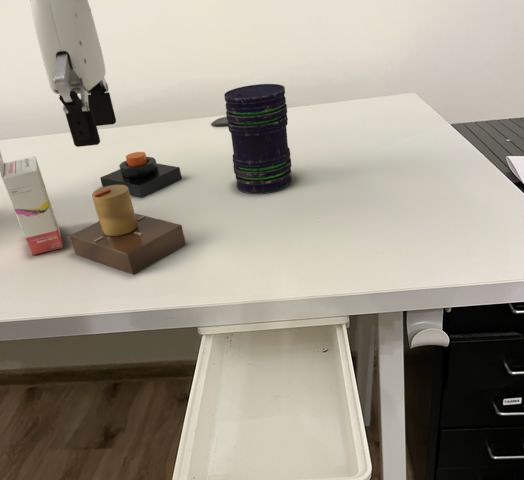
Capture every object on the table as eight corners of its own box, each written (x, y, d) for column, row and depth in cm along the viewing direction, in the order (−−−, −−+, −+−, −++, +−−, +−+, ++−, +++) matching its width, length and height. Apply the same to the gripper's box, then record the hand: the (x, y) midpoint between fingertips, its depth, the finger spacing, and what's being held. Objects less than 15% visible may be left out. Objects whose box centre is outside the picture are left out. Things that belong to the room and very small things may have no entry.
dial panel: (75, 254, 80) (68, 234, 78) (127, 228, 86) (122, 208, 84) (133, 274, 73) (127, 253, 71) (185, 244, 79) (181, 223, 77)
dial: (123, 218, 81) (112, 180, 78) (145, 225, 78) (135, 185, 75) (95, 232, 78) (83, 192, 75) (117, 238, 75) (105, 198, 72)
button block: (103, 189, 102) (97, 167, 100) (143, 171, 108) (138, 151, 106) (141, 197, 96) (136, 175, 94) (182, 178, 102) (177, 157, 100)
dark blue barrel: (271, 169, 101) (263, 81, 92) (304, 182, 94) (298, 87, 85) (225, 184, 97) (212, 94, 88) (255, 199, 90) (244, 101, 81)
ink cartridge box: (65, 248, 82) (30, 148, 74) (31, 256, 81) (-8, 156, 72) (60, 228, 89) (28, 134, 80) (29, 235, 88) (-8, 141, 79)
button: (124, 166, 100) (121, 156, 99) (138, 160, 102) (136, 150, 101) (136, 169, 98) (134, 159, 97) (151, 162, 100) (149, 153, 99)
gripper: (47, -21, 70) (85, 120, 80) (-5, -12, 56) (49, 157, 66) (104, -28, 70) (136, 115, 80) (67, -20, 56) (111, 151, 66)
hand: (97, 134), depth 73 cm, fingers open, 9 cm apart
